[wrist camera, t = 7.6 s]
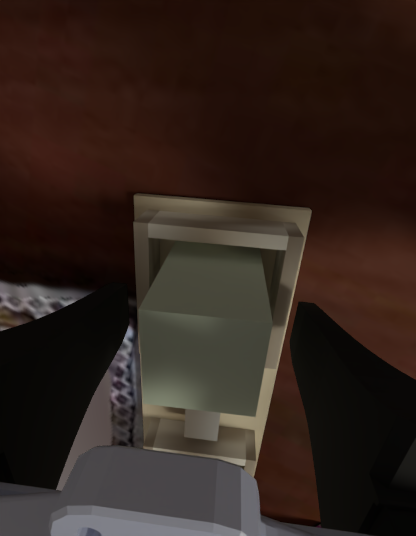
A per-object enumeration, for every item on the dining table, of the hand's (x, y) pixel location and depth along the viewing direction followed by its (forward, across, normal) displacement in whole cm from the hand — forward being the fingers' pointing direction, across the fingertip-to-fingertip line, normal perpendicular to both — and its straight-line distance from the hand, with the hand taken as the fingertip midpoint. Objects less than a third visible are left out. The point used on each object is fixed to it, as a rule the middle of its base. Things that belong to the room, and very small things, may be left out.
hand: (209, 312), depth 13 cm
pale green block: (+3, 0, 0) cm, 3 cm away
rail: (+3, 0, +7) cm, 8 cm away
